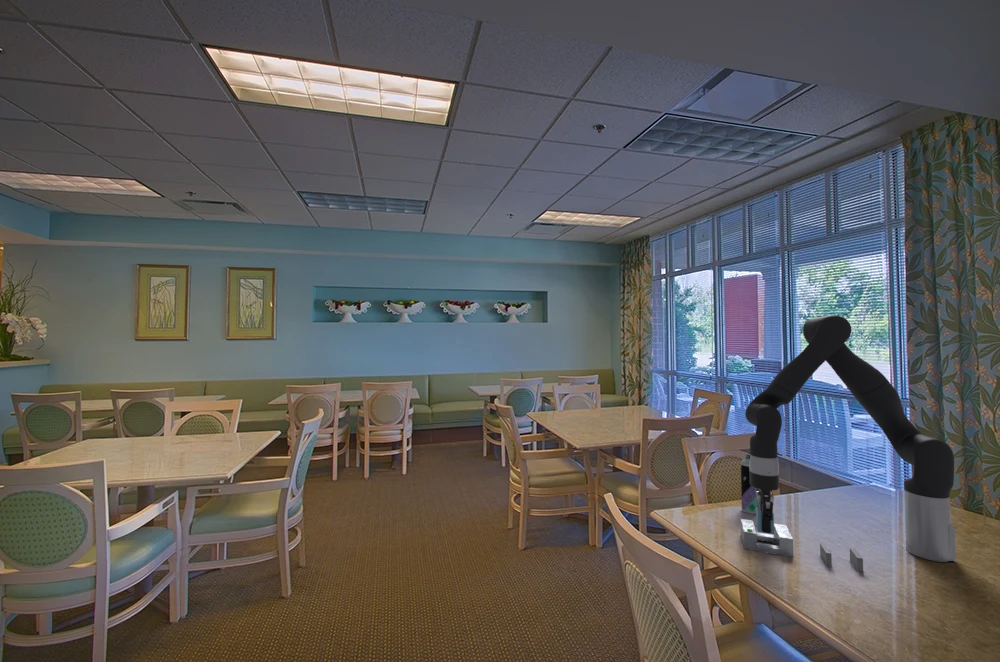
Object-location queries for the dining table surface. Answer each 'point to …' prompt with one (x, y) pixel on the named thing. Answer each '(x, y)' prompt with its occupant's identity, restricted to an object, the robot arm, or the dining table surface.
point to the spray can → (747, 488)
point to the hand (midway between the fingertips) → (765, 528)
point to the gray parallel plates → (854, 557)
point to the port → (767, 539)
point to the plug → (759, 521)
